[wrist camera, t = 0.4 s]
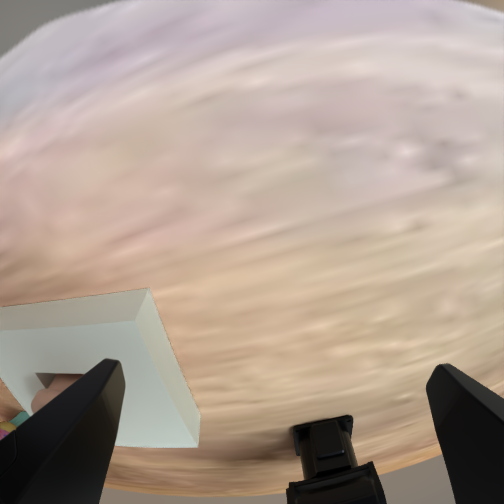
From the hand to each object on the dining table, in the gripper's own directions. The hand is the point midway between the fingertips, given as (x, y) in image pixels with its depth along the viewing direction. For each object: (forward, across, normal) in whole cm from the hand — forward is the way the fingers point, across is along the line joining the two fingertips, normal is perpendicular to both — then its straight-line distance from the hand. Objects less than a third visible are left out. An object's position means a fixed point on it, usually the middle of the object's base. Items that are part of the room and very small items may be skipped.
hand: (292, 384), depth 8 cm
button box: (+14, +14, +15) cm, 25 cm away
